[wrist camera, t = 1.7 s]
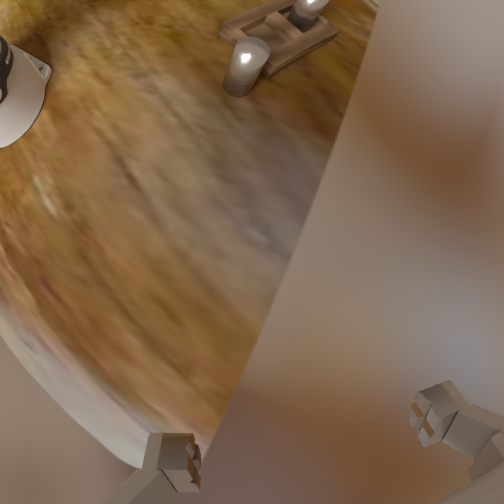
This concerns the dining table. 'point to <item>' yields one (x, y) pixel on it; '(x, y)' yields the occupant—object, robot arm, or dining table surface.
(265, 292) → the dining table surface
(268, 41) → the wooden divided tray
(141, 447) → the dining table surface
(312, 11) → the cylinder
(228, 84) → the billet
